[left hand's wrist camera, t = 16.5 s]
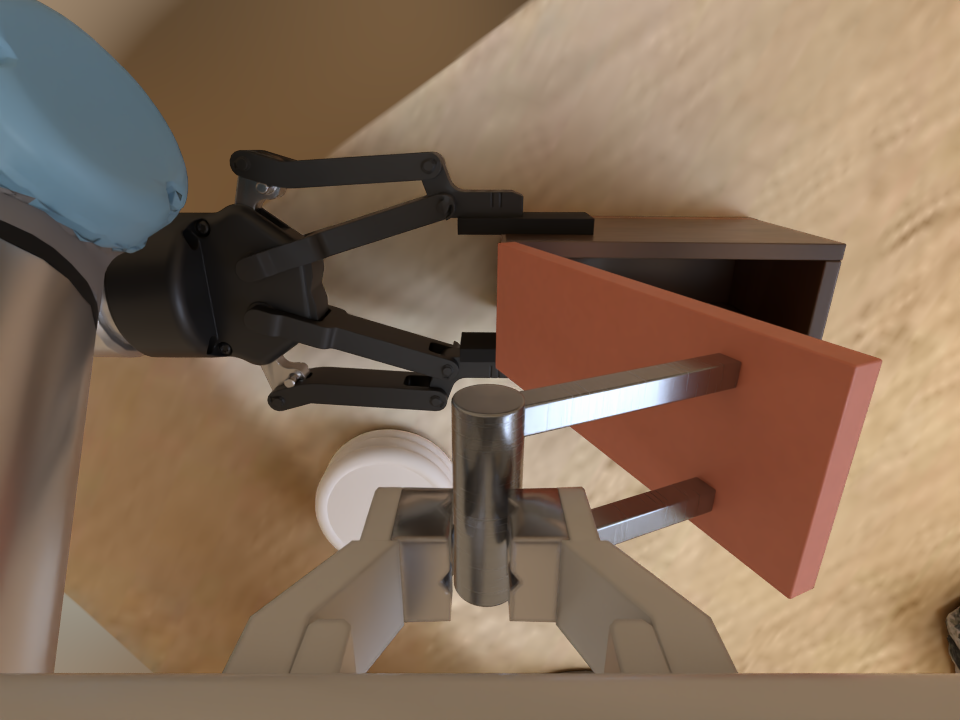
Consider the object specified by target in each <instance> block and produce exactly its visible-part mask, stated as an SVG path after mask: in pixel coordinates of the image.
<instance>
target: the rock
mask: <svg viewBox="0 0 960 720" xmlns="http://www.w3.org/2000/svg"><path fill="white" fill-rule="evenodd" d="M945 622H946V626H947V630H948V632H949V635H948V637H947V639H948V642H949V649H948V650H949V655H950V656H951V659H952V661H953V662H954V664H955V672H956V673H960V606H959V607H958V608H956V609H955V610H954V611H953V612H951V613H949V614H948V616H947V618H946V621H945Z"/></svg>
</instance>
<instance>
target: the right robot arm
mask: <svg viewBox="0 0 960 720" xmlns="http://www.w3.org/2000/svg"><path fill="white" fill-rule="evenodd" d="M230 166H231V169H232V171H233V172H234V173H235V174H236V175H238V180H237V189H236V197H235V204H232V205H229V206H227V207H225V208H224V209H222V210H221V211H219V212H216V213H179V211H180V210H181V208H183V207H184V205H185V203H186V199H187V194H188V177H187V171H186V167H185V163H184V160H183V157H182V154H181V151H180V149H179V146H178V144H177V142H176V140H175V137H174V135H173V133H172V132H171V130H170V128H169V126H168V125H167V123H166V121H165V120H164V118H163V117H162V115H161V113H160V112H159V110H158V109H157V107H156V106H155V105H154V103H153V102H152V100H151V99H150V98H149V96H148V95H147V94H146V92H145V91H144V90H143V89H142V87H141V86H140V85H139V84H138V83H137V82H136V80H135V79H134V78H133V77H132V76H131V75H130V74H129V73H128V72H127V71H126V69H125V68H124V67H122V66H121V65H120V64H119V63H118V62H117V61H116V60H115V59H114V58H113V57H112V56H111V55H110V54H109V53H108V52H107V51H106V50H105V49H104V48H102V47H101V46H100V45H99V44H98V43H97V42H96V41H95V40H94V39H93V38H92V37H90V36H89V35H88V34H87V33H86V32H84V31H83V30H82V29H81V28H79V27H78V26H77V25H76V24H74V23H73V22H71V21H70V20H69V19H67V18H66V17H64V16H63V15H61V14H60V13H58V12H56V11H55V10H53V9H51V8H50V7H48V6H46V5H44V4H43V3H41V2H39V1H37V0H0V673H54V667H55V659H56V651H57V643H58V635H59V627H60V619H61V611H62V603H63V595H64V587H65V579H66V571H67V563H68V555H69V547H70V539H71V531H72V523H73V515H74V507H75V499H76V491H77V483H78V475H79V467H80V459H81V451H82V443H83V435H84V427H85V419H86V411H87V403H88V395H89V387H90V379H91V371H92V363H93V357H141V356H143V355H147V356H151V357H227V356H232V357H237V358H241V359H243V360H246V361H248V362H250V363H252V364H255V365H261V367H262V369H263V371H264V373H265V376H266V378H267V380H268V382H269V384H270V386H271V388H272V390H273V391H272V392H271V393H270V395H269V396H268V404H269V405H270V407H271V408H273V409H274V410H277V411H284V410H287V409H291V408H295V407H299V406H302V405H306V404H310V403H316V404H332V405H348V406H364V407H380V408H396V409H412V410H428V411H440V410H442V409H444V408H445V406H446V404H447V400H448V397H449V395H450V392H451V389H452V387H453V385H454V383H455V382H456V381H457V380H459V379H461V378H508V377H507V376H505V375H504V374H503V373H502V372H500V371H499V370H498V369H496V332H462V336H461V343H460V345H459V343H458V342H456V341H454V343H453V345H451V344H448V343H445V342H441V341H438V340H434V339H431V338H428V337H424V336H421V335H417V334H414V333H411V332H407V331H404V330H401V329H397V328H394V327H390V326H387V325H384V324H380V323H377V322H373V321H370V320H367V319H363V318H360V317H357V316H353V315H350V314H348V313H347V312H346V311H345V310H343V309H340V308H337V307H333V306H330V305H328V300H327V295H326V292H325V290H324V287H323V284H322V277H323V271H324V263H323V259H324V258H326V257H329V256H332V255H335V254H338V253H341V252H344V251H347V250H350V249H353V248H357V247H360V246H363V245H366V244H369V243H372V242H375V241H378V240H382V239H385V238H388V237H391V236H394V235H397V234H400V233H404V232H407V231H410V230H413V229H416V228H419V227H422V226H425V225H429V224H432V223H435V222H438V221H441V220H444V219H446V220H448V219H450V218H458V235H505V234H553V235H593V234H594V221H595V219H594V218H593V217H591V216H590V215H588V214H587V213H585V212H523V195H522V194H520V193H518V192H515V191H513V190H462V189H460V188H458V187H456V186H455V185H454V184H453V183H452V181H451V179H450V176H449V173H448V171H447V168H446V165H445V161H444V158H443V157H442V156H441V155H440V154H439V153H437V152H421V153H405V154H390V155H375V156H360V157H344V158H329V159H314V160H299V161H297V160H294V159H291V158H287V157H284V156H281V155H278V154H274V153H271V152H268V151H264V150H239V151H236V152H234V153H233V154H232V155H231V158H230ZM416 180H422V182H423V185H424V188H425V190H426V193H427V195H426V196H423V197H420V198H417V199H413V200H410V201H407V202H404V203H401V204H398V205H395V206H392V207H389V208H386V209H383V210H380V211H377V212H374V213H371V214H368V215H364V216H361V217H358V218H355V219H352V220H349V221H346V222H343V223H340V224H337V225H334V226H330V227H326V228H323V229H320V230H317V231H314V232H311V233H308V234H305V235H301V234H300V233H298V232H297V231H295V230H294V229H292V228H291V227H290V226H288V225H287V224H285V223H284V222H282V221H281V220H279V219H278V218H276V217H275V216H273V215H272V214H270V213H269V212H267V211H266V210H265V209H263V208H262V204H263V202H264V201H265V200H266V199H275V198H279V197H281V196H283V195H284V194H285V192H286V189H287V188H306V187H322V186H338V185H353V184H369V183H385V182H401V181H416ZM298 343H302V344H305V345H309V346H312V347H316V348H320V349H329V348H333V349H337V350H340V351H344V352H347V353H351V354H354V355H358V356H361V357H365V358H368V359H372V360H375V361H379V362H382V363H386V364H389V365H393V366H396V367H399V368H403V369H406V370H410V371H413V372H404V371H388V370H372V369H356V368H340V367H316V368H311V369H308V365H307V364H306V363H300V362H290V361H288V360H287V359H285V358H284V356H283V354H285V353H286V352H287V351H289V350H290V349H291V348H293V347H294V346H295V345H297V344H298ZM563 673H594V672H593V671H570V672H563Z"/></svg>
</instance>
